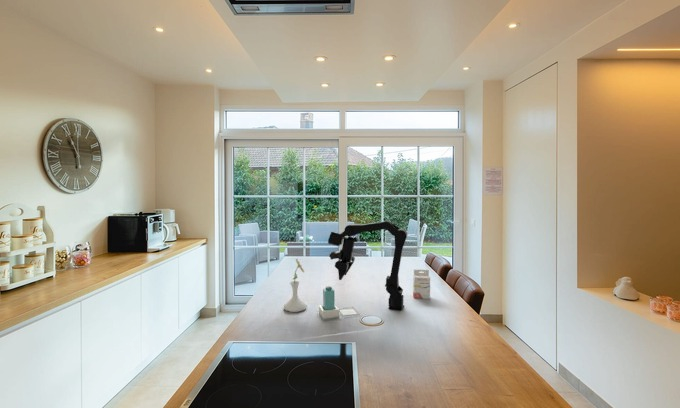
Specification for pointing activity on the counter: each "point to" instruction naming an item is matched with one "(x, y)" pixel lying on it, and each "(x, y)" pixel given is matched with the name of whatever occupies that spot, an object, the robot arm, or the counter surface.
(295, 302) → the flower in vase
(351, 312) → the grey board with socket
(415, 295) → the ink cartridge box
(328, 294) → the plug
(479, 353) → the counter surface
